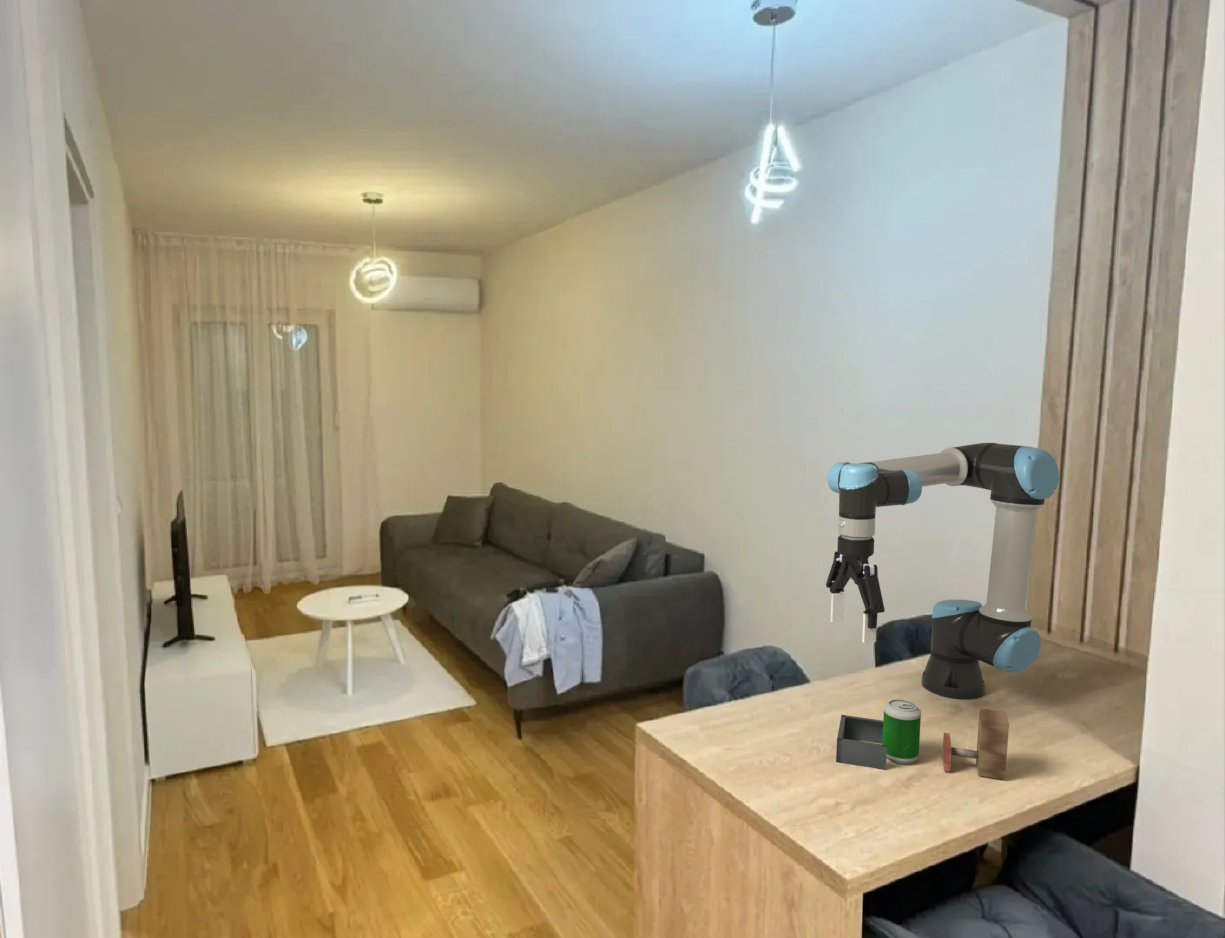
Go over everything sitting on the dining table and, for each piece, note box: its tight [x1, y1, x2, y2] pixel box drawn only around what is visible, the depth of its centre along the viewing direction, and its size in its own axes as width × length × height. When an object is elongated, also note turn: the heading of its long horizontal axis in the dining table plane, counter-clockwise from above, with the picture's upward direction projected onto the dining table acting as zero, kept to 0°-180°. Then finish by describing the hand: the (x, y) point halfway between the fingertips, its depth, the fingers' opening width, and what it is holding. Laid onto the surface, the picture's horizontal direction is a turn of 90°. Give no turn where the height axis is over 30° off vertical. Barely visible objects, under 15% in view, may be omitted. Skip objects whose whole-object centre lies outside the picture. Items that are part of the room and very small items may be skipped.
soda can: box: [882, 698, 922, 765], centre depth 174 cm, size 8×8×12 cm
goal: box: [835, 714, 888, 771], centre depth 177 cm, size 10×13×5 cm
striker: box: [942, 707, 1010, 780], centre depth 169 cm, size 12×7×12 cm, turn 70°
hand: (852, 631), depth 176 cm, fingers open, 13 cm apart
